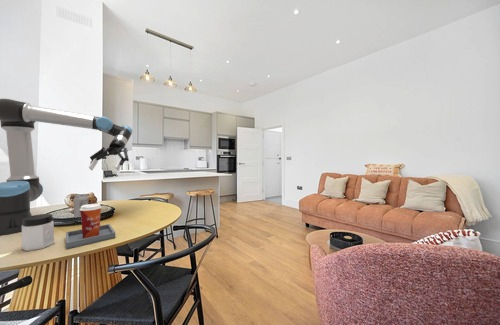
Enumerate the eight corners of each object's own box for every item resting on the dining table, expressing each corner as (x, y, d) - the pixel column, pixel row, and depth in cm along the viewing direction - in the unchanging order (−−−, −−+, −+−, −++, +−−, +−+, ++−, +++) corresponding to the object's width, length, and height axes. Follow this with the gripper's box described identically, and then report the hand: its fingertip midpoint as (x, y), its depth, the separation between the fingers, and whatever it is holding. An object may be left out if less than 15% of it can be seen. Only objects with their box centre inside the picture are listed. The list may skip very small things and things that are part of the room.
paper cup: (89, 240, 82) (89, 208, 82) (74, 239, 83) (74, 206, 83) (106, 233, 90) (106, 203, 89) (93, 232, 91) (92, 202, 91)
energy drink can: (83, 219, 111) (83, 193, 111) (91, 220, 110) (90, 194, 109) (71, 222, 106) (70, 195, 105) (79, 223, 104) (78, 196, 104)
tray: (66, 249, 75) (66, 243, 75) (65, 237, 86) (65, 232, 86) (115, 237, 87) (115, 232, 87) (109, 228, 97) (109, 223, 97)
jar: (37, 251, 74) (37, 220, 73) (15, 251, 73) (14, 220, 73) (59, 241, 83) (59, 213, 82) (39, 241, 82) (38, 213, 82)
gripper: (141, 148, 127) (130, 173, 112) (99, 147, 124) (82, 172, 109) (137, 139, 122) (125, 164, 107) (94, 138, 118) (75, 163, 104)
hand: (103, 168), depth 108 cm, fingers open, 13 cm apart
